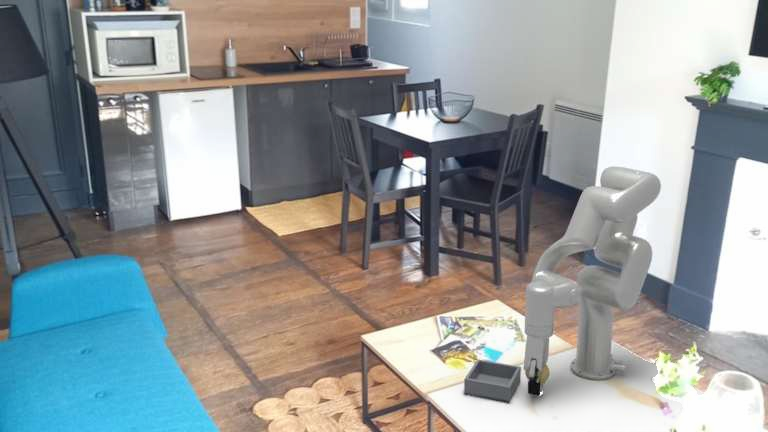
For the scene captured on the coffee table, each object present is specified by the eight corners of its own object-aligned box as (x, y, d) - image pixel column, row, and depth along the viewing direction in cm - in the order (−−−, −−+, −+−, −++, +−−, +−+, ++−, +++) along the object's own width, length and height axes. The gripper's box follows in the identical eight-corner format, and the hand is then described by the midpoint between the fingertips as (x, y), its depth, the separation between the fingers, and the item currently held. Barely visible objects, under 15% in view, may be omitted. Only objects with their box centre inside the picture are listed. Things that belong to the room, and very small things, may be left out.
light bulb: (548, 401, 194) (549, 368, 192) (524, 399, 196) (525, 366, 193) (548, 389, 200) (549, 357, 198) (524, 388, 202) (525, 355, 199)
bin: (520, 382, 205) (520, 366, 204) (509, 403, 194) (509, 387, 193) (477, 374, 210) (477, 359, 209) (464, 394, 199) (464, 379, 198)
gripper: (532, 313, 202) (530, 371, 207) (517, 338, 186) (515, 400, 191) (559, 317, 199) (556, 376, 204) (546, 343, 184) (543, 406, 188)
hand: (536, 387), depth 197 cm, fingers closed on light bulb, 6 cm apart
